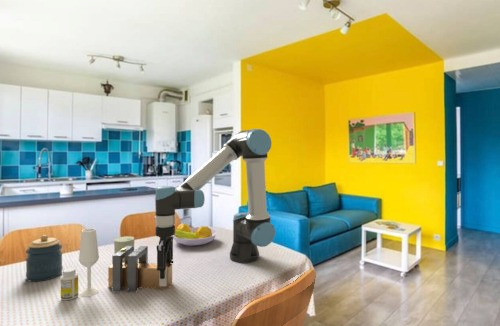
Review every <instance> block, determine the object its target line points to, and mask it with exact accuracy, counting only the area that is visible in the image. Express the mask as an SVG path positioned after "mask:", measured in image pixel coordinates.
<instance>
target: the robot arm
mask: <svg viewBox="0 0 500 326" xmlns="http://www.w3.org/2000/svg"><path fill="white" fill-rule="evenodd" d="M271 148H272V138H271V136H270V134H269V133H267V131H266V130H264V129H261V128H252V129H247V130H241V131H239V132H238V133H236V134H235V135H234V136H232V137H231V138H230V139H229V140H227V141H226V142H225V143H224V144H223V145H222V148H221V149H220V150H219V151H218V152H217V153H215V155H213V156H212V157H211V158H210V159H209V160H208V161H207V162H205V163H204V164H203V165H201V167H199V169H197V170H196V171H195V172H194V173H193V174H191V175H190V176H189V177H188V178H187V179H186V180H185V181H183V182H182V183H181V184H180V185H177V186H171V185H161V186H158V187H157V188H155V198H154V200H155V201H154V202H155V204H154V205H155V216H154V219H155V236H156V237H159V241H158V244H157V245H156V264H157V271H159V286H167V269H166V264H174V260H173V259H174V238H173V235H174V234H175V230H176V226H175V225H176V210H186V209H187V210H188V209H197V208H199V209H200V208H202V207H203V206H204V204H205V201H206V200H205V193H204V192H203V190H201V189H203V187H205V185H207V184H208V183H210V181H211V180H212V179H214V178H215V176H218V174H219V173H220V172H222V171H223V169H225V168H226V167H227V166H228V165H229V164H231V162H232V161H236V160H238V159H240V157H242V160H243V161H244V162H245V168H246V169H245V170H246V171H245V172H246V186H247V187H246V189H247V208H248V211H247V212H238V213H235V214H234V215H233V220H232V222H233V223H232V224H233V226H232V227H233V228H232V233H233V237H232V238H233V239H232V242H233V243H232V246H231V249H230V252H229V259H230V260H231V261H233V262H237V263H242V264H243V263H252V262H255V261H258V260H260V250H259V248H258V247H261V248H263V247H267V246H269V245H271V243H272V242H273V241H274V239H275V236H276V228H275V226H274V224H273V223H271V215H270V214H269V213H268V210H267V209H268V208H267V190H266V188H267V186H266V169H265V168H266V167H265V162H266V160H267V159H268V153H269V152H270V150H271Z"/></svg>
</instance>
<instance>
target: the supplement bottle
mask: <svg viewBox="0 0 500 326" xmlns="http://www.w3.org/2000/svg"><path fill="white" fill-rule="evenodd" d="M76 271H77V270H76V268H75V267H69V268H65V269H64V270H62V275H61V276H60V280H59V281H60V282H59V283H60V299H61V300H62V301H71V300H74V299H76V298H77V297H78V296H79V274H78V273H77V272H76Z"/></svg>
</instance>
